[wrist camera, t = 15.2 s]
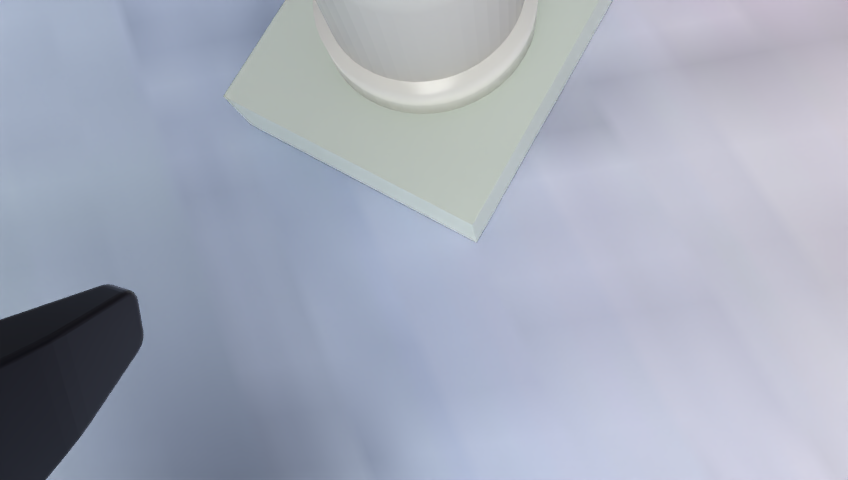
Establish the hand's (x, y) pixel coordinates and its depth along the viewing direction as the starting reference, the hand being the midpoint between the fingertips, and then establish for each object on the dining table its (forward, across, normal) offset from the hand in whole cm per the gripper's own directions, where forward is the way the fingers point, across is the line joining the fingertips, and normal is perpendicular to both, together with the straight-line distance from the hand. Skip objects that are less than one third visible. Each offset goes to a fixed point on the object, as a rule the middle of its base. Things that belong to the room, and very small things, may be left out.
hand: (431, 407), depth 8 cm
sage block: (+18, +5, +1) cm, 19 cm away
